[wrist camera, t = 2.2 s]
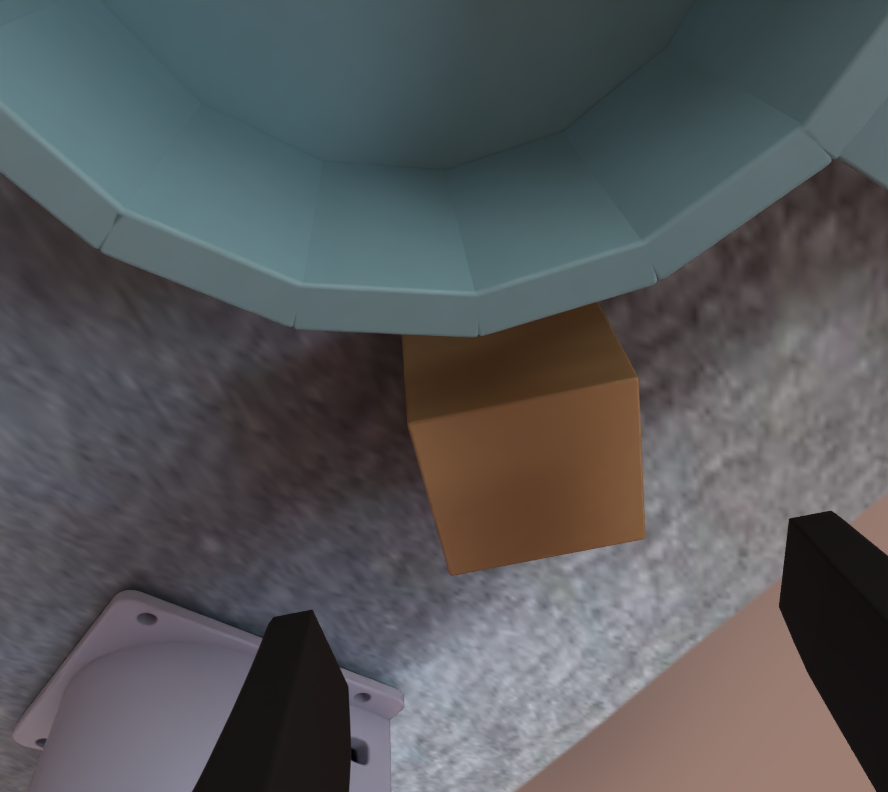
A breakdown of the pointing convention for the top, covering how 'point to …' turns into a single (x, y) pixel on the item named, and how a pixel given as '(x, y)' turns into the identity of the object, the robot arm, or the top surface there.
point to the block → (527, 439)
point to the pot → (430, 142)
